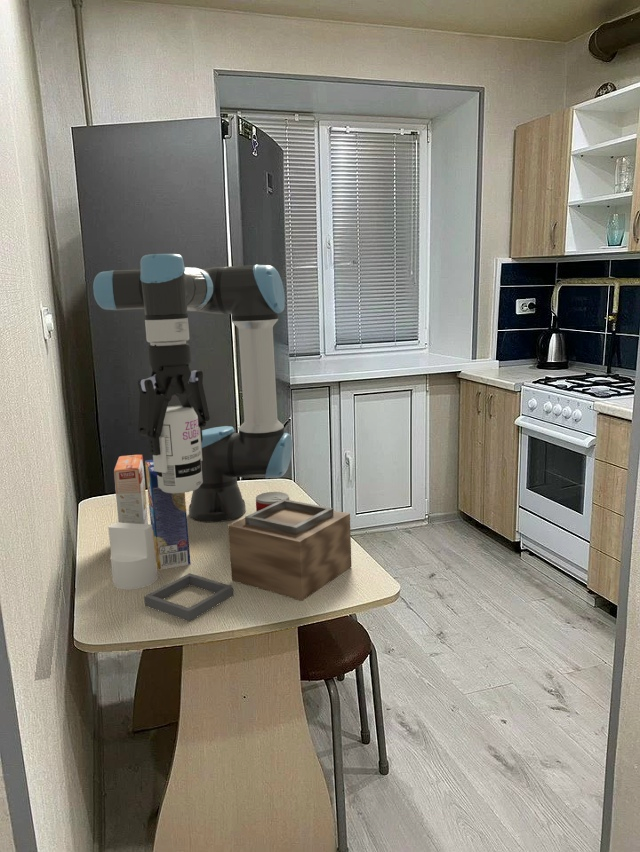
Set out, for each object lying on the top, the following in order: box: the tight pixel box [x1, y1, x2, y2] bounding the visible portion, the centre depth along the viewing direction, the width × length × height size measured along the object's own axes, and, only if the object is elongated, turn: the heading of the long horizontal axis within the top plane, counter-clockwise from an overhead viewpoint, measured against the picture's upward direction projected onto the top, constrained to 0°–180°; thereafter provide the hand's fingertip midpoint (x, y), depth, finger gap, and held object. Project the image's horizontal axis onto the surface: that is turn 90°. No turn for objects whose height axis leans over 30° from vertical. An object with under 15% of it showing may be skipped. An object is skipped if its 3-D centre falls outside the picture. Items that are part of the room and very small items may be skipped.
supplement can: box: [154, 405, 203, 494], centre depth 121 cm, size 8×8×15 cm
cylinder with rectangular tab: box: [107, 521, 159, 590], centre depth 137 cm, size 9×9×12 cm
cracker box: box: [113, 454, 149, 524], centre depth 154 cm, size 14×6×21 cm, turn 12°
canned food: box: [255, 491, 290, 512], centre depth 156 cm, size 8×8×11 cm
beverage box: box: [144, 459, 191, 571], centre depth 146 cm, size 7×11×22 cm, turn 20°
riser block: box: [227, 499, 353, 601], centre depth 137 cm, size 18×18×14 cm
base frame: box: [143, 572, 235, 622], centre depth 127 cm, size 12×12×2 cm
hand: (178, 465), depth 122 cm, fingers closed on supplement can, 8 cm apart
